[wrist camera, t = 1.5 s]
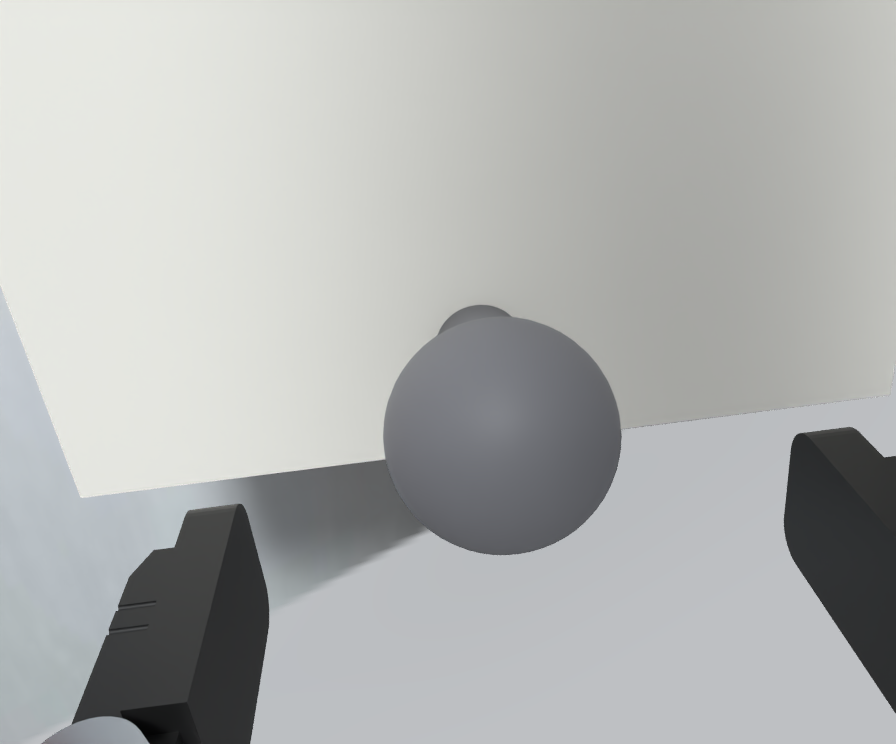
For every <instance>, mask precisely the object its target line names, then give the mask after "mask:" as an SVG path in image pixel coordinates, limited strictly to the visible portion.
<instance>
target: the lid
mask: <svg viewBox="0 0 896 744" xmlns="http://www.w3.org/2000/svg"><path fill="white" fill-rule="evenodd" d="M0 286H1V289H2V292H3V294H4V297H5V300H6V302H7V305H8V307H9V310H10V313H11V315H12V318H13V321H14V323H15V326H16V329H17V331H18V334H19V336H20V339H21V342H22V344H23V347H24V350H25V352H26V355H27V357H28V360H29V363H30V365H31V368H32V371H33V373H34V376H35V379H36V381H37V384H38V386H39V389H40V392H41V394H42V397H43V400H44V402H45V405H46V408H47V410H48V413H49V415H50V418H51V421H52V423H53V426H54V429H55V431H56V434H57V436H58V439H59V442H60V444H61V447H62V450H63V452H64V455H65V458H66V460H67V463H68V465H69V468H70V471H71V473H72V476H73V479H74V481H75V484H76V487H77V489H78V492H79V494H80V497H81V498H85V497H93V496H101V495H109V494H117V493H125V492H132V491H140V490H148V489H156V488H164V487H172V486H180V485H188V484H195V483H203V482H211V481H219V480H227V479H235V478H243V477H251V476H258V475H266V474H274V473H282V472H290V471H298V470H306V469H314V468H321V467H329V466H337V465H345V464H353V463H361V462H369V461H377V460H384V459H386V463H387V467H388V471H389V473H390V476H391V479H392V481H393V483H394V486H395V488H396V490H397V492H398V494H399V495H400V497H401V499H402V500H403V502H404V503H405V505H406V506H407V508H408V509H409V510H410V511H411V512H412V514H413V515H414V516H415V517H416V518H417V519H418V520H419V521H420V522H421V523H422V524H423V525H424V526H426V527H427V528H428V529H429V530H430V531H432V532H433V533H435V534H436V535H438V536H439V537H441V538H442V539H445V540H446V541H448V542H450V543H452V544H454V545H457V546H459V547H462V548H465V549H467V550H470V551H475V552H478V553H484V554H492V555H511V554H521V553H526V552H531V551H534V550H538V549H541V548H544V547H546V546H549V545H551V544H554V543H556V542H557V541H559V540H561V539H563V538H565V537H566V536H568V535H569V534H571V533H572V532H574V531H575V530H576V529H577V528H579V527H580V526H581V525H582V524H583V523H584V522H585V521H586V520H587V519H588V518H589V517H590V516H591V515H592V514H593V512H594V511H595V510H596V509H597V508H598V506H599V505H600V503H601V502H602V501H603V499H604V497H605V496H606V494H607V492H608V490H609V488H610V486H611V483H612V481H613V478H614V475H615V473H616V470H617V466H618V461H619V457H620V450H621V429H629V428H636V427H644V426H652V425H659V424H667V423H676V422H683V421H692V420H699V419H707V418H715V417H723V416H731V415H739V414H746V413H754V412H762V411H770V410H778V409H786V408H794V407H802V406H810V405H817V404H825V403H833V402H841V401H849V400H857V399H864V398H873V397H880V396H888V395H890V394H891V388H892V381H893V375H894V370H895V364H896V0H0Z"/></svg>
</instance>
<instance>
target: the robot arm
mask: <svg viewBox="0 0 896 744" xmlns="http://www.w3.org/2000/svg"><path fill="white" fill-rule="evenodd" d="M784 530H785V537H786V541H787V545H788V548H789V551H790V554H791V556H792V558H793V560H794V562H795V563H796V565H797V566H798V568H799V569H800V571H801V572H802V574H803V576H804V577H805V578H806V580H807V581H808V583H809V584H810V586H811V587H812V589H813V590H814V592H815V593H816V595H817V596H818V598H819V599H820V601H821V602H822V604H823V605H824V607H825V608H826V610H827V611H828V613H829V614H830V616H831V617H832V619H833V620H834V622H835V623H836V625H837V626H838V628H839V629H840V631H841V632H842V634H843V635H844V637H845V638H846V640H847V641H848V643H849V644H850V646H851V647H852V649H853V650H854V652H855V653H856V655H857V656H858V658H859V659H860V661H861V662H862V664H863V665H864V667H865V668H866V670H867V671H868V673H869V674H870V676H871V677H872V678H873V680H874V682H875V683H876V685H877V686H878V688H879V689H880V691H881V692H882V694H883V695H884V697H885V698H886V700H887V701H888V703H889V704H890V705H891V707H892V709H893V710H894V712H895V713H896V456H893V457H885V458H884V457H883V456H882V455H881V454H880V453H879V452H878V451H877V450H876V449H875V448H874V447H873V446H872V445H871V444H870V443H869V442H868V441H867V440H866V439H865V438H864V437H863V436H862V435H861V434H860V433H859V432H858V431H857V430H856V429H854V428H852V427H846V428H839V429H830V430H822V431H815V432H807V433H800V434H797V435H796V436H795V438H794V440H793V443H792V446H791V455H790V465H789V474H788V485H787V494H786V504H785V514H784ZM118 608H119V610H118V611H116V612H115V615H114V617H113V620H112V622H111V625H110V627H109V635H106V638H105V640H104V643H103V645H102V648H101V650H100V653H99V656H98V658H97V661H96V663H95V666H94V668H93V671H92V673H91V676H90V678H89V681H88V684H87V686H86V689H85V691H84V694H83V696H82V699H81V701H80V704H79V707H78V709H77V712H76V714H75V717H74V719H73V722H72V725H70V726H68V727H66V728H64V729H62V730H60V731H58V732H57V733H55V734H54V735H52V736H51V737H49V738H48V739H46V740H45V741H44V742H43V743H42V744H250V741H251V735H252V729H253V723H254V716H255V710H256V703H257V697H258V692H259V685H260V679H261V673H262V667H263V660H264V654H265V647H266V642H267V635H268V628H269V602H268V594H267V588H266V583H265V580H264V576H263V572H262V568H261V565H260V561H259V557H258V553H257V549H256V546H255V542H254V538H253V534H252V531H251V527H250V523H249V519H248V516H247V513H246V510H245V508H244V506H243V505H242V504H234V505H226V506H219V507H211V508H203V509H195V510H189V511H188V512H187V514H186V516H185V518H184V521H183V524H182V527H181V530H180V533H179V536H178V539H177V542H176V545H175V548H167V549H160V550H154V551H153V552H152V553H151V554H150V555H149V556H148V557H147V558H146V559H145V560H144V561H143V563H142V564H141V565H140V566H139V567H138V568H137V569H136V570H135V571H134V572H133V573H132V575H131V576H130V577H129V579H128V582H127V584H126V587H125V589H124V592H123V594H122V597H121V599H120V602H119V605H118Z"/></svg>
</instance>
